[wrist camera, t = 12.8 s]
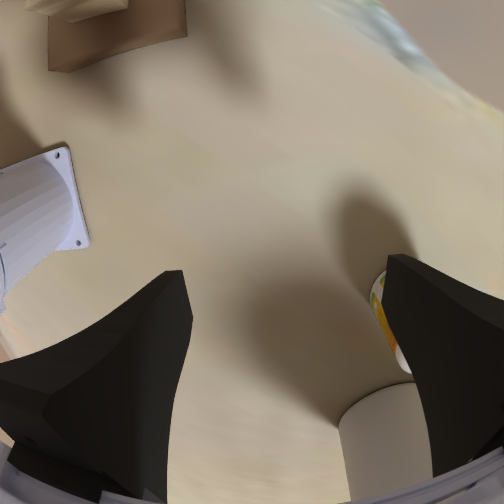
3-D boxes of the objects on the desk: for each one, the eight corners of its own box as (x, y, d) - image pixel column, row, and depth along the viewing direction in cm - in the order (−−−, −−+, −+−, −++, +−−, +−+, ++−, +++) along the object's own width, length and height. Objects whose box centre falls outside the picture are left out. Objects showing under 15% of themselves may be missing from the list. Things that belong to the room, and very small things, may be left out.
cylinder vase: (445, 374, 28) (512, 543, 6) (404, 429, 34) (440, 569, 11) (356, 383, 28) (402, 604, 5) (325, 438, 33) (344, 602, 11)
